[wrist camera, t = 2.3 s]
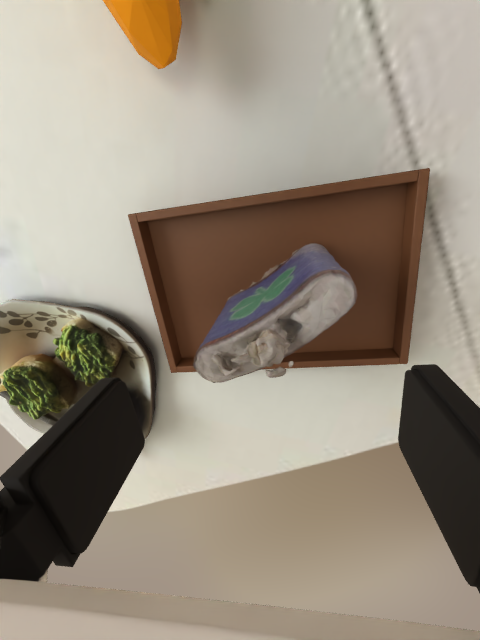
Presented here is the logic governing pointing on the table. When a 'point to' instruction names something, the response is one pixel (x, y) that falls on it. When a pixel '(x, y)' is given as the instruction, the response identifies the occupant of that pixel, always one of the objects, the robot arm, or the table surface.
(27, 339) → the avocado toast plate
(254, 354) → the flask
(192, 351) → the tray
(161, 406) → the table surface
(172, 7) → the corn
